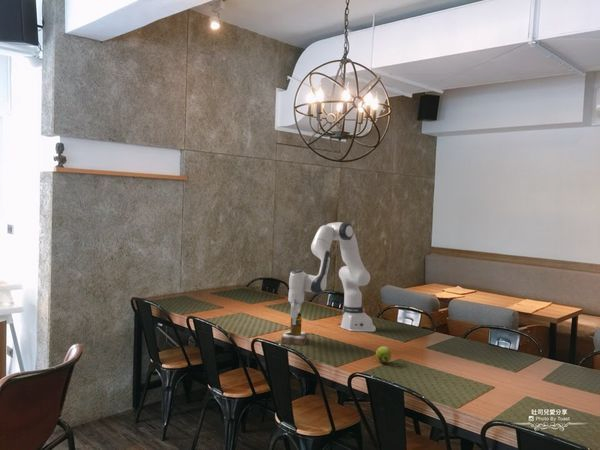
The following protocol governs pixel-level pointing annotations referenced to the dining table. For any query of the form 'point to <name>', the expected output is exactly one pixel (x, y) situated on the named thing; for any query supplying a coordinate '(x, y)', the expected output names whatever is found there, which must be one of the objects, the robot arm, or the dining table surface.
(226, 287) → the dining table surface
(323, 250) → the robot arm
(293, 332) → the condiment
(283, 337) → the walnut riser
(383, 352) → the apple
